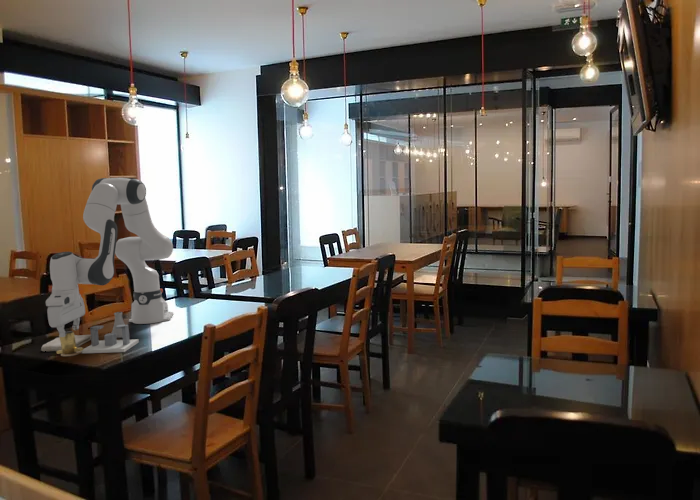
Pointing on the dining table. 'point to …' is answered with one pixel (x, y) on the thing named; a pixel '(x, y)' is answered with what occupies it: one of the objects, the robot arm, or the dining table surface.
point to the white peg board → (110, 341)
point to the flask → (118, 322)
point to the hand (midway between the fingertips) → (69, 333)
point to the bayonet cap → (68, 344)
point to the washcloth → (56, 343)
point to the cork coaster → (71, 353)
